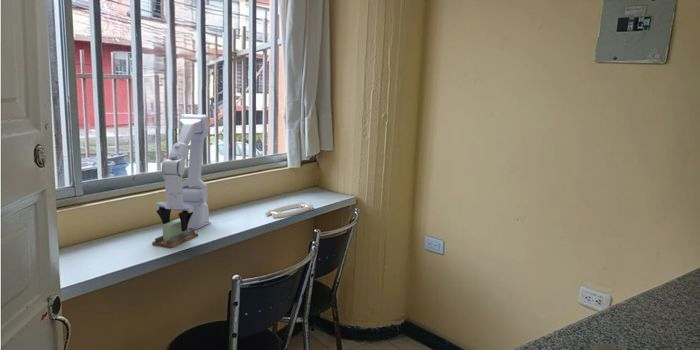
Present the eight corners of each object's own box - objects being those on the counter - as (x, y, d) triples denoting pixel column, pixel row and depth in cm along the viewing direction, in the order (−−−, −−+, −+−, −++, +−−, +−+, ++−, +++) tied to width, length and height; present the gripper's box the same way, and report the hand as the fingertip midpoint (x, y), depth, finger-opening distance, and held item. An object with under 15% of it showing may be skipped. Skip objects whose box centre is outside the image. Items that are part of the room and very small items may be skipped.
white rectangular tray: (261, 216, 213) (302, 205, 233) (276, 220, 207) (317, 209, 226) (261, 210, 213) (302, 200, 232) (276, 214, 207) (317, 204, 226)
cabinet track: (180, 232, 186) (180, 226, 185) (198, 235, 183) (197, 229, 183) (152, 244, 172) (152, 238, 172) (171, 248, 169) (170, 241, 169)
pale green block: (181, 233, 183) (181, 217, 182) (188, 234, 182) (187, 218, 181) (163, 240, 173) (162, 224, 172) (170, 242, 172) (169, 225, 171)
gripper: (149, 192, 173) (151, 229, 176) (184, 197, 168) (185, 235, 171) (163, 188, 179) (164, 224, 182) (196, 193, 175) (197, 229, 177)
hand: (175, 229), depth 177 cm, fingers open, 7 cm apart
